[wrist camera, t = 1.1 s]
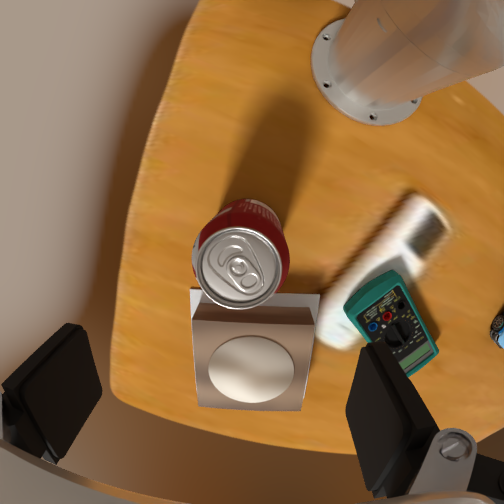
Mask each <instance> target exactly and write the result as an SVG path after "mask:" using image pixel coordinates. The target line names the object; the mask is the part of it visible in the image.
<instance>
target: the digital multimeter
mask: <svg viewBox="0 0 504 504" xmlns="http://www.w3.org/2000/svg"><path fill="white" fill-rule="evenodd" d="M402 290H403V291H402ZM407 299H408V300H407ZM343 309H344V312H345V313H346V315H347V317H348V318H349V319H350V321H351V322H352V323H353V324H354V326H355V327H356V328H357V329H358V331H359V332H360V333H361V334H362V336H363V337H364V338H365V340H366V341H367V342H368V343H369V342H386V344H387V345H388V347H389V348H390V350H391V351H392V353H393V354H394V356H395V358H396V359H397V361H398V362H399V364H400V366H401V367H402V369H403V370H404V372H405V374H406V375H407V377H409V376H411V375H413V374H414V373H415V372H417V371H418V370H420V369H421V368H422V367H424V366H425V365H426V364H427V363H428V362H429V361H431V360H432V359H433V358H434V357H435V356H436V355H437V354H438V353H439V349H438V347H437V345H436V344H435V342H434V340H433V338H432V337H431V335H430V333H429V331H428V329H427V327H426V325H425V324H424V322H423V320H422V318H421V316H420V314H419V312H418V310H417V308H416V306H415V304H414V302H413V300H412V298H411V296H410V294H409V292H408V289H407V287H406V285H405V283H404V281H403V279H402V277H401V276H400V275H399V274H398V273H397V272H395V271H394V270H391V271H389V272H387V273H384V274H382V275H380V276H378V277H377V278H375V279H373V280H371V281H370V282H368V283H367V284H366V285H364V286H363V287H362V288H361V289H360V290H359V291H358V292H357V293H355V294H354V295H353V296H352V298H351V299H350V300H349V301H348V302H347V303H346V304H345V305H344V307H343ZM405 320H406V321H405ZM358 321H359V322H358ZM412 327H413V328H412ZM365 331H366V332H365ZM412 332H413V333H412ZM399 347H400V348H399Z"/></svg>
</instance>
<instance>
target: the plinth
mask: <svg viewBox="0 0 504 504" xmlns="http://www.w3.org/2000/svg"><path fill="white" fill-rule="evenodd" d="M314 329H315V323H314V320H313V317H312V314H311V311H310V307H279V306H256V307H253V308H249V309H241V310H240V309H230V308H226V307H223V306H221V305H219V304H215V303H199V304H198V306H197V309H196V311H195V313H194V315H193V317H192V335H193V349H194V363H195V375H196V386H197V396H198V406H201V407H211V408H222V409H236V410H255V411H301V407H302V402H303V396H304V391H305V385H306V379H307V374H308V368H309V362H310V355H311V349H312V343H313V336H314Z"/></svg>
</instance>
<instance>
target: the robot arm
mask: <svg viewBox="0 0 504 504" xmlns="http://www.w3.org/2000/svg"><path fill="white" fill-rule="evenodd" d="M324 39H327V40H324ZM502 66H504V0H355V4H354V5H353V7H352V9H351V10H350V12H349V14H348V15H347V17H346V18H344V19H341V20H337V21H335V22H333V23H331V24H329V25H328V26H327V27H325V28H324V29H323V30H322V31H321V32H320V34H319V35H318V37H317V38H316V40H315V42H314V45H313V48H312V52H311V69H312V74H313V77H314V80H315V82H316V85H317V87H318V88H319V90H320V92H321V93H322V95H323V96H324V97H325V99H326V100H327V101H328V102H329V103H330V104H331V105H332V106H333V107H334V108H335V109H337V110H338V111H339V112H340V113H342V114H343V115H345V116H347V117H349V118H350V119H352V120H355V121H357V122H360V123H362V124H367V125H372V126H385V125H391V124H395V123H397V122H401V121H402V120H404V119H406V118H408V117H409V116H410V115H411V114H412V113H413V112H414V111H415V110H416V109H417V108H418V106H419V104H420V102H421V99H422V97H423V96H424V95H427V94H429V93H432V92H435V91H437V90H440V89H442V88H445V87H448V86H451V85H453V84H456V83H459V82H462V81H465V80H467V79H470V78H473V77H476V76H479V75H482V74H485V73H488V72H491V71H494V70H496V69H498V68H501V67H502ZM324 84H326V85H328V88H326V87H324ZM411 101H412V102H411ZM370 116H372V118H373V119H372V120H371V119H370ZM2 387H3V389H4V391H5V392H4V393H3V394H2V393H1V392H0V504H189V503H182V502H177V501H171V500H166V499H160V498H156V497H152V496H147V495H143V494H139V493H134V492H131V491H127V490H123V489H119V488H116V487H113V486H110V485H107V484H103V483H100V482H97V481H94V480H91V479H88V478H86V477H83V476H80V475H77V474H74V473H72V472H70V471H67V470H65V469H62V468H60V467H58V466H55V465H57V463H58V461H59V460H60V459H62V458H63V457H64V456H65V455H66V453H67V451H68V450H69V448H70V446H71V445H72V443H73V441H74V440H75V438H76V436H77V435H78V433H79V431H80V430H81V428H82V427H83V425H84V423H85V422H86V420H87V418H88V417H89V415H90V414H91V412H92V410H93V409H94V407H95V405H96V404H97V402H98V401H99V399H100V398H101V395H102V386H101V383H100V380H99V377H98V373H97V370H96V366H95V363H94V359H93V356H92V352H91V348H90V344H89V340H88V336H87V332H86V331H85V330H83V327H82V326H80V325H77V324H71V323H66V324H64V325H63V326H62V327H61V328H60V329H59V330H58V331H57V332H55V333H54V334H53V335H52V336H51V337H50V338H49V339H48V340H47V341H46V342H45V343H44V344H42V345H41V346H40V347H39V348H38V349H37V350H36V351H35V352H34V353H33V354H32V355H31V356H30V357H29V358H28V359H27V360H26V361H24V363H22V365H20V366H19V367H18V368H17V369H16V370H15V371H14V372H13V373H12V374H11V375H10V376H9V377H8V378H7V379H6V380H5V381H4V382H3V383H2ZM346 417H347V421H348V424H349V428H350V431H351V434H352V438H353V441H354V445H355V448H356V452H357V456H358V459H359V463H360V467H361V470H362V474H363V478H364V481H365V485H366V488H367V490H368V491H372V493H373V496H374V498H379V497H383V496H387V499H381V500H375V501H370V502H364V503H357V504H504V462H502V461H499V460H496V459H492V458H489V457H486V456H483V455H480V454H477V445H476V442H475V440H474V438H473V437H472V436H471V435H470V434H469V433H467V432H466V431H464V430H461V429H457V428H447V429H444V430H441V431H440V430H439V428H438V426H437V424H436V422H435V421H434V419H433V417H432V416H431V414H430V412H429V410H428V409H427V407H426V405H425V404H424V402H423V400H422V398H421V397H420V395H419V393H418V392H417V390H416V389H415V387H414V385H413V384H412V382H411V381H410V379H409V378H408V377H407V375H406V374H405V372H404V370H403V369H402V367H401V366H400V364H399V362H398V361H397V359H396V358H395V356H394V354H393V353H392V351H391V350H390V348H389V347H388V345H387V344H386V342H369V343H367V345H366V347H362V349H361V351H360V355H359V360H358V364H357V368H356V372H355V375H354V379H353V383H352V387H351V390H350V394H349V397H348V401H347V404H346ZM41 457H43V458H44V459H45V460H47V461H49V462H51V463H53V464H55V465H53V464H51V463H48V462H46V461H44V460H42V459H41Z"/></svg>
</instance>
